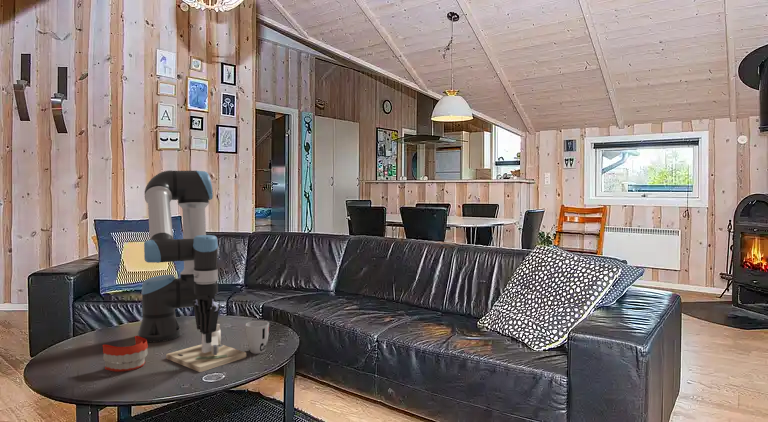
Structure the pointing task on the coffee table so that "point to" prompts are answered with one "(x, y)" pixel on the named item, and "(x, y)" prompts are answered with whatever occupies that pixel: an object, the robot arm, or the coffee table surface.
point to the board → (205, 357)
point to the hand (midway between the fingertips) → (206, 351)
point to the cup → (257, 336)
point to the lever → (216, 340)
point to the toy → (125, 356)
